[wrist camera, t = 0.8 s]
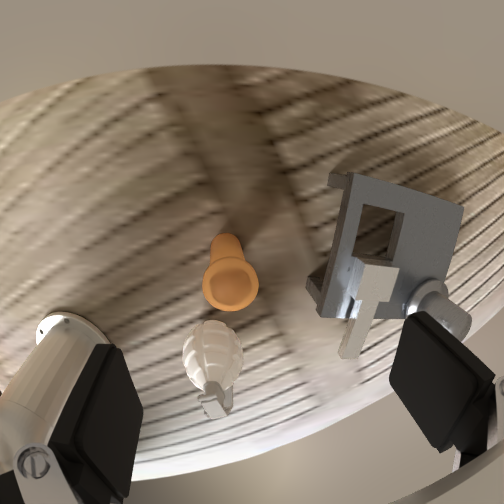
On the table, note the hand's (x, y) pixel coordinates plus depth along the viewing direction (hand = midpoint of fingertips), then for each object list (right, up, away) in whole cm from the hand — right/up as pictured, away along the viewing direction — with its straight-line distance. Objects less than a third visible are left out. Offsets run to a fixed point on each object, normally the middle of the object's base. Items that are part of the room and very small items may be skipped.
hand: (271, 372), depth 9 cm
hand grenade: (-5, -6, +26) cm, 27 cm away
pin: (-3, +4, +23) cm, 23 cm away
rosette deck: (+14, +3, +25) cm, 29 cm away
